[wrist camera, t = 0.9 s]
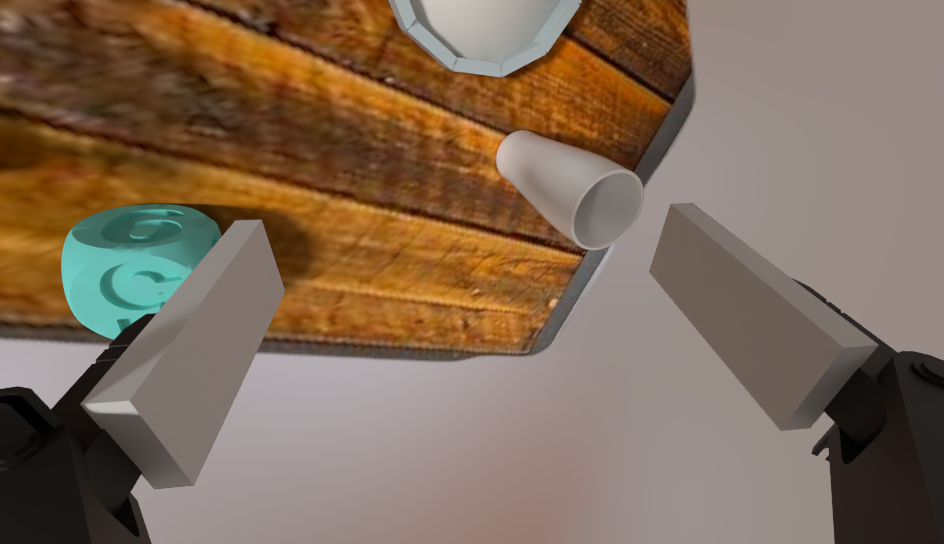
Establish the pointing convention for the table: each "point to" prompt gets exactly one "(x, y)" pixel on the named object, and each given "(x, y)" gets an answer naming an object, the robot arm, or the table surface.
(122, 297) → the decorative dice
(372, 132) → the table surface
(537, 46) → the dish
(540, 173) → the drinking glass
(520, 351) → the table surface
